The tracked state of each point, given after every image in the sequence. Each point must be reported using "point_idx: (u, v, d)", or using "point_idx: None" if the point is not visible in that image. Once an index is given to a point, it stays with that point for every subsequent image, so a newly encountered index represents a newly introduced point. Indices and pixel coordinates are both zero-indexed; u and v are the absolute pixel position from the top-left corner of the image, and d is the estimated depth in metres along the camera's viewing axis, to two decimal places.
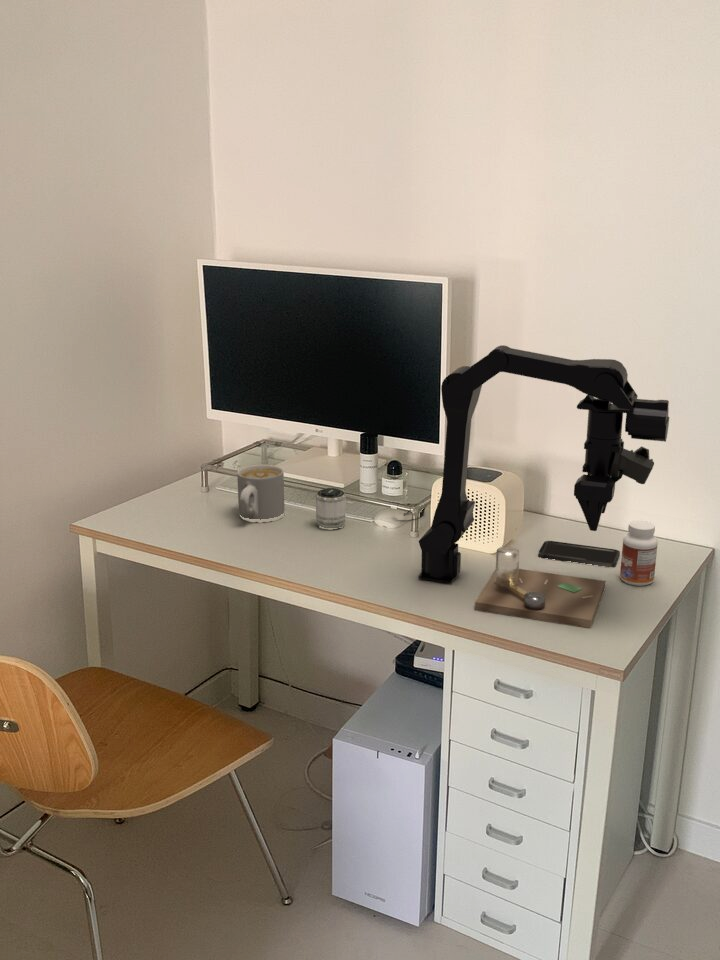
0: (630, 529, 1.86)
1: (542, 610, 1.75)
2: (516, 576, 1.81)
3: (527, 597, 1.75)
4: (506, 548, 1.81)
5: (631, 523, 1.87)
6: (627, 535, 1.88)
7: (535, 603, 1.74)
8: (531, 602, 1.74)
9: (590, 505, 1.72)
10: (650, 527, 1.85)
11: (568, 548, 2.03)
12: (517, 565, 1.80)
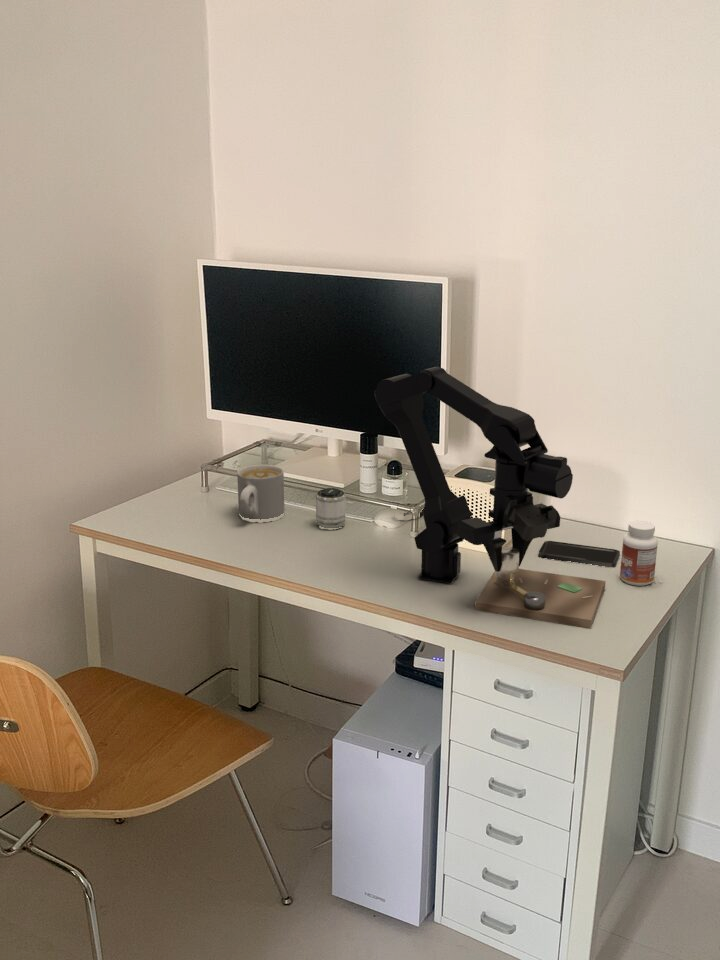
0: (630, 529, 1.86)
1: (542, 610, 1.75)
2: (516, 576, 1.81)
3: (527, 597, 1.75)
4: (506, 548, 1.81)
5: (631, 523, 1.87)
6: (627, 535, 1.88)
7: (535, 603, 1.74)
8: (531, 602, 1.74)
9: (490, 545, 1.79)
10: (650, 527, 1.85)
11: (568, 548, 2.03)
12: (517, 565, 1.80)
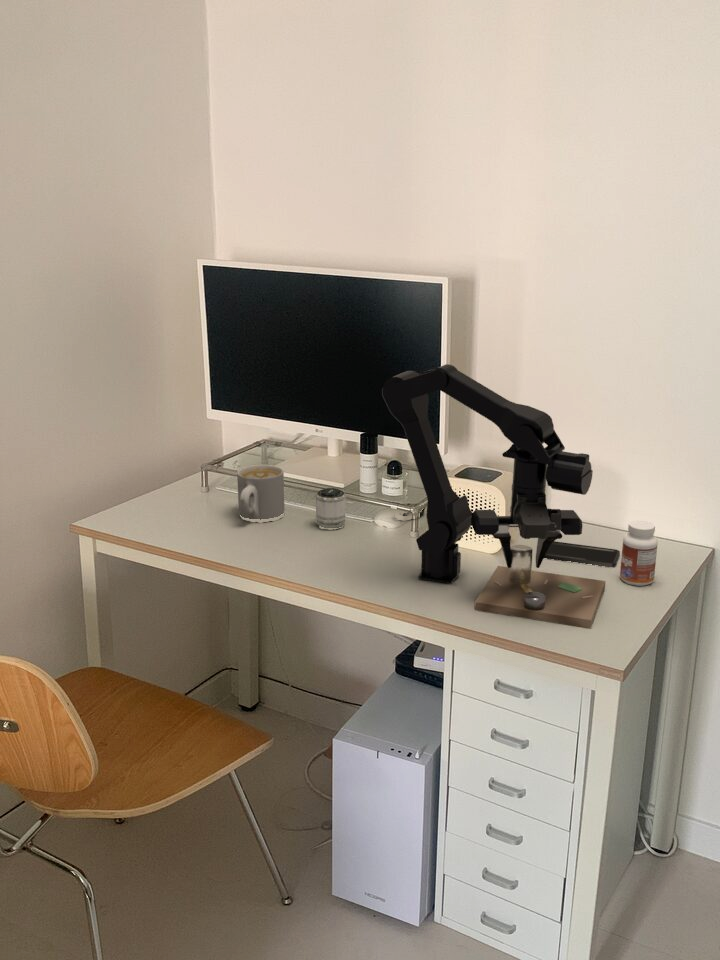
0: (630, 529, 1.86)
1: (542, 610, 1.75)
2: (527, 575, 1.81)
3: (526, 596, 1.76)
4: (521, 547, 1.82)
5: (631, 523, 1.87)
6: (627, 535, 1.88)
7: (532, 603, 1.74)
8: (528, 601, 1.74)
9: None
10: (650, 527, 1.85)
11: (568, 548, 2.03)
12: (528, 564, 1.80)
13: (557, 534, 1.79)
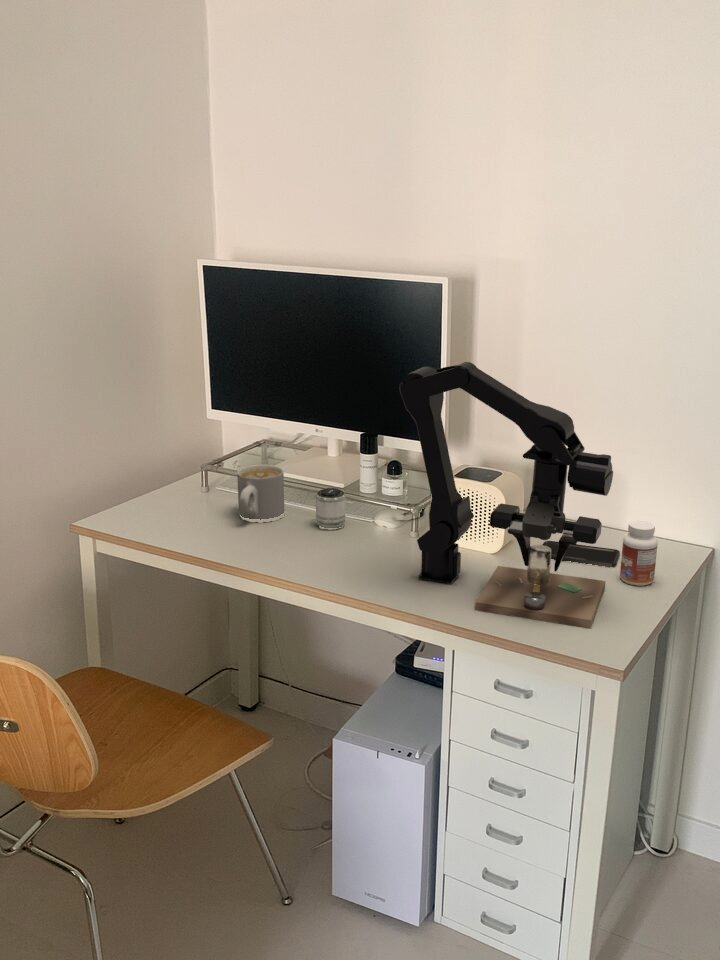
0: (630, 529, 1.86)
1: (542, 610, 1.75)
2: (541, 576, 1.81)
3: (527, 594, 1.76)
4: (542, 547, 1.82)
5: (631, 523, 1.87)
6: (627, 535, 1.88)
7: (528, 602, 1.75)
8: (525, 599, 1.75)
9: None
10: (650, 527, 1.85)
11: (568, 548, 2.03)
12: (543, 565, 1.80)
13: (572, 540, 1.76)
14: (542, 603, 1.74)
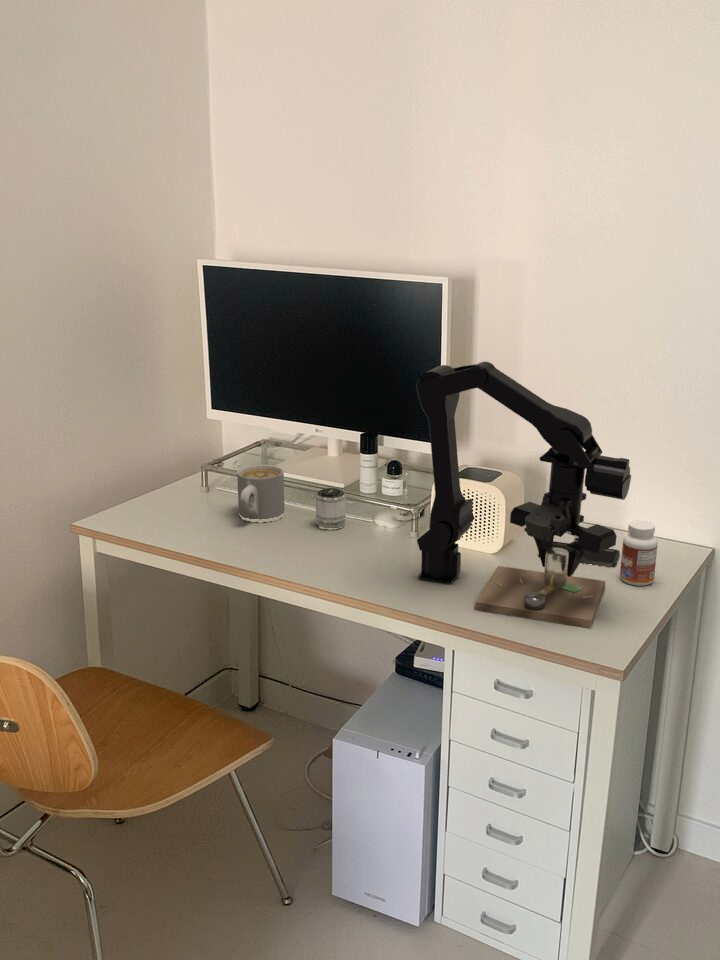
0: (630, 529, 1.86)
1: (542, 610, 1.75)
2: (554, 579, 1.80)
3: (528, 593, 1.77)
4: (561, 550, 1.80)
5: (631, 523, 1.87)
6: (627, 535, 1.88)
7: (525, 601, 1.75)
8: (524, 598, 1.76)
9: None
10: (650, 527, 1.85)
11: None
12: (556, 568, 1.79)
13: (580, 546, 1.74)
14: (539, 604, 1.74)
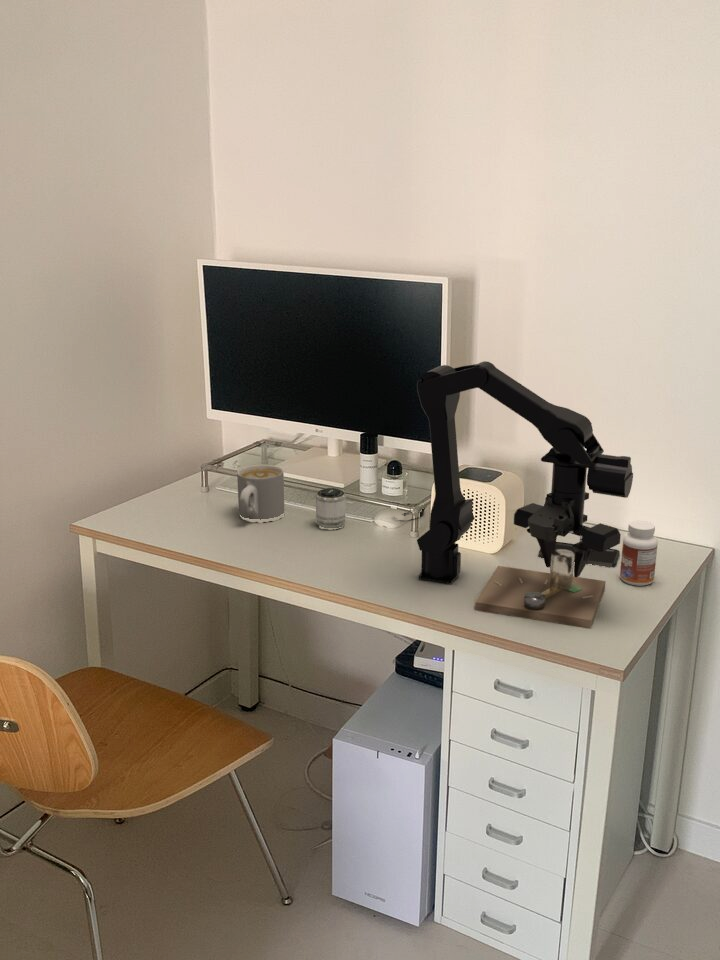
0: (630, 529, 1.86)
1: (542, 610, 1.75)
2: (558, 580, 1.79)
3: (529, 593, 1.77)
4: (567, 552, 1.80)
5: (631, 523, 1.87)
6: (627, 535, 1.88)
7: (524, 600, 1.75)
8: (524, 597, 1.76)
9: None
10: (650, 527, 1.85)
11: (568, 548, 2.03)
12: (560, 569, 1.78)
13: (586, 546, 1.73)
14: (537, 604, 1.74)
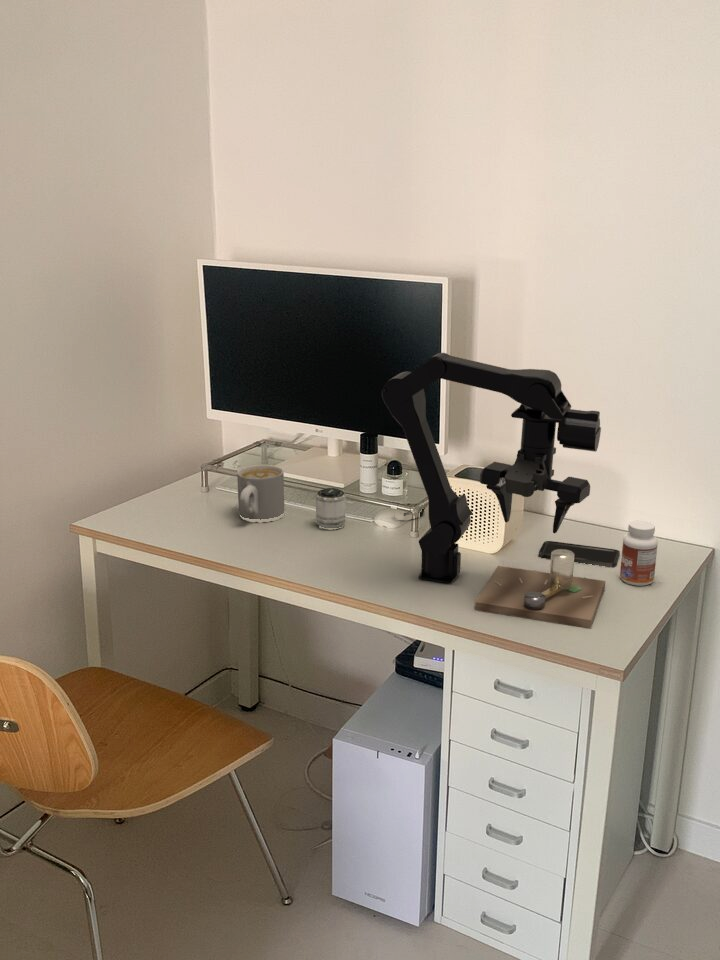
0: (630, 529, 1.86)
1: (542, 610, 1.75)
2: (558, 580, 1.79)
3: (529, 593, 1.77)
4: (567, 552, 1.80)
5: (631, 523, 1.87)
6: (627, 535, 1.88)
7: (524, 600, 1.75)
8: (524, 597, 1.76)
9: None
10: (650, 527, 1.85)
11: (568, 548, 2.03)
12: (560, 569, 1.78)
13: (568, 501, 1.75)
14: (537, 604, 1.74)
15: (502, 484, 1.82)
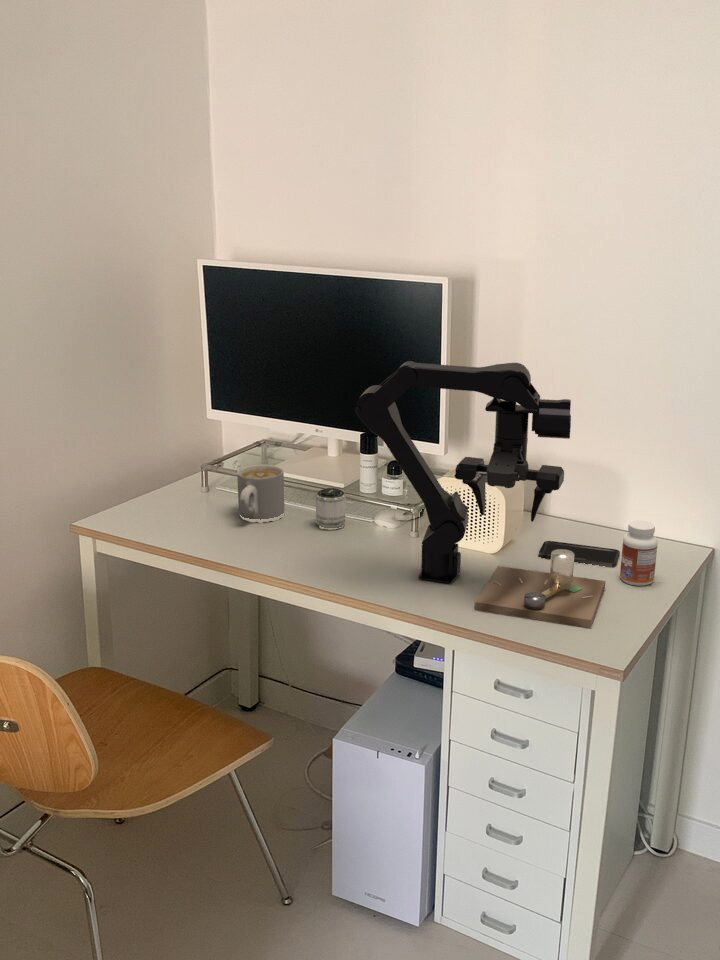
0: (630, 529, 1.86)
1: (542, 610, 1.75)
2: (558, 580, 1.79)
3: (529, 593, 1.77)
4: (567, 552, 1.80)
5: (631, 523, 1.87)
6: (627, 535, 1.88)
7: (524, 600, 1.75)
8: (524, 597, 1.76)
9: None
10: (650, 527, 1.85)
11: (568, 548, 2.03)
12: (560, 569, 1.78)
13: (547, 489, 1.80)
14: (537, 604, 1.74)
15: (477, 478, 1.84)
